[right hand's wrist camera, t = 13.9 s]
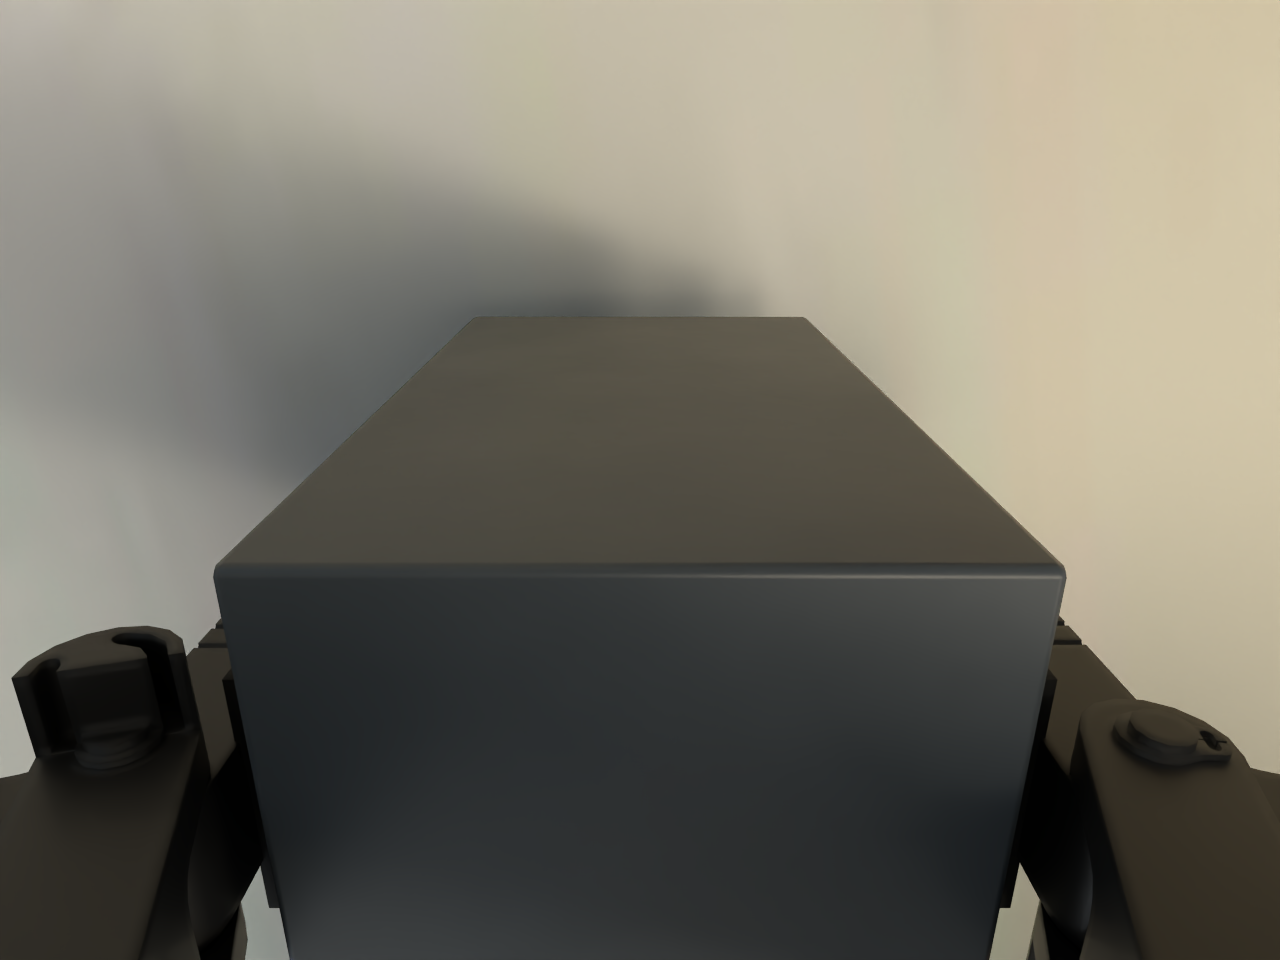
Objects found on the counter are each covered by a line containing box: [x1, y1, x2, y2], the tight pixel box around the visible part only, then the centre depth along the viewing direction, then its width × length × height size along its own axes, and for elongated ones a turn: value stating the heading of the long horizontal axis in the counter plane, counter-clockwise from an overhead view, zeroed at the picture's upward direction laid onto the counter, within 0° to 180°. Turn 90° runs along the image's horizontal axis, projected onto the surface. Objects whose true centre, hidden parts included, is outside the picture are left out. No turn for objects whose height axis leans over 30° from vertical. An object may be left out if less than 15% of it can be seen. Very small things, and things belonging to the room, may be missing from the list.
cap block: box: [213, 317, 1066, 960], centre depth 12 cm, size 6×6×10 cm
